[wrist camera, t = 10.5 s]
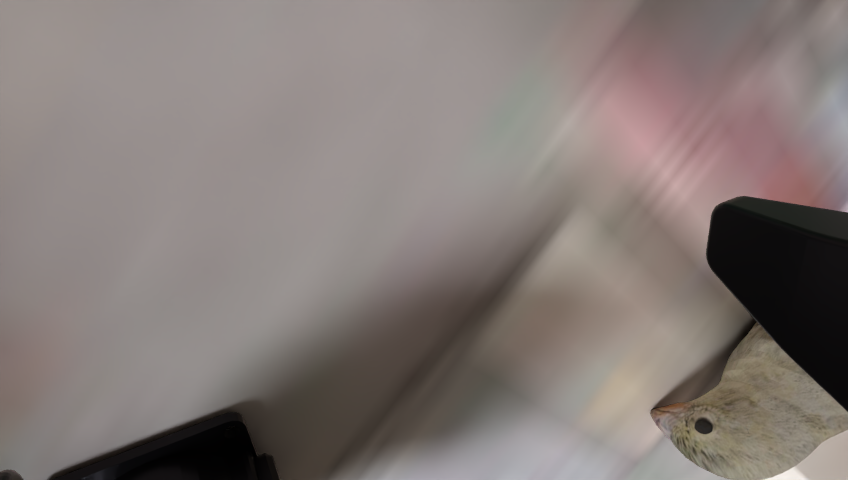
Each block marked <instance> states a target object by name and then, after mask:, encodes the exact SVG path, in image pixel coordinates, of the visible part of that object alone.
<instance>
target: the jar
mask: <svg viewBox="0 0 848 480" xmlns="http://www.w3.org/2000/svg"><path fill="white" fill-rule="evenodd" d="M763 480H848V430H846V431H844V432H842V433H840V434H837V435H835V436H833V437H831V438H829V439H827V440H825V441H824V442H822V443H821V444H820V445H819V446H818V447H817V448H816V449H815V450H814V451H813V452H812V453H811V454H810V455H809V456H808V457H806V458H805V459H804V460H803V461H801V462H800V463H799V464H797V465H796V466H794V467H793V468H791V469H789V470H787V471H785V472H784V473H781V474H779V475H776V476H774V477H771V478H767V479H763Z"/></svg>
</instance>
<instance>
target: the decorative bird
mask: <svg viewBox="0 0 848 480" xmlns="http://www.w3.org/2000/svg"><path fill="white" fill-rule="evenodd" d="M650 414H651V416H652V418H653V420H654V422H655V423H656V425H657V426H658V427H659V429H660V430H661V431H662V432H663V433H664V435H665V436H666V437H667V438H668V439H669V440H670V441H672V442H673V444H674V445H675V446H676V448H677V449H678V450H679V451H680V452H681V453H682V454H683V455H684V456H685V457H686V458H688V459H689V460H690V461H692V462H693V463H695V464H696V465H697V466H699V467H701V468H703V469H705V470H707V471H709V472H711V473H713V474H715V475H717V476H721V477H724V478H727V479H732V480H763V479H767V478H771V477H774V476H776V475H779V474H781V473H784V472H785V471H787V470H789V469H791V468H793V467H794V466H796V465H797V464H799V463H800V462H801V461H803V460H804V459H805V458H806V457H808V456H809V455H810V454H811V453H812V452H813V451H814V450H815V449H816V448H817V447H818V446H819V445H820V444H821V443H822V442H824V441H825V440H827V439H829V438H831V437H833V436H835V435H837V434H840V433H842V432H844V431H846V430H848V412H847V411H846V410H845V409H844V408H843V407H842V406H841V405H839V404H838V403H837V402H836V401H835V400H834V399H833V398H832V397H831V396H830V395H829V394H828V393H827V392H826V391H825V390H824V389H823V388H822V387H820V386H819V385H818V384H817V383H816V382H815V381H814V380H813V379H812V378H811V377H810V376H809V375H808V374H807V373H806V372H805V371H804V370H802V369H801V368H800V367H799V366H798V365H797V364H796V363H795V362H794V361H793V360H792V359H791V358H790V357H789V356H788V355H787V354H786V353H785V352H784V351H783V350H782V349H781V348H780V347H779V346H778V345H777V344H776V343H775V342H774V340H773V339H772V338H771V337H770V336H769V335H768V334H767V333H766V332H765V330H764V329H763V328H762V327H761V326H760V325H759V324H758V322H756V324H755V325H754V326H753V328H752V329H751V330H750V332H749V333H748V334H747V336H746V337H745V338H744V339H743V340H742V341H741V342H740V343H739V344H738V346H737V347H736V348H735V350H734V351H733V352H732V353H731V355H730V357H729V359H728V361H727V364H726V366H725V369H724V371H723V374H722V378H721V381H720V383H719V385H717V386H716V387H715V388H713V389H712V390H711V391H709V392H708V393H706V394H704V395H703V396H701V397H699V398H697V399H695V400H692V401H689V402H684V403H676V404H672V405H668V406H664V407H660V408H655V409H652V410H651V412H650Z"/></svg>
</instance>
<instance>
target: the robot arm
mask: <svg viewBox="0 0 848 480" xmlns="http://www.w3.org/2000/svg"><path fill="white" fill-rule="evenodd" d="M706 258H707V262H708V264H709V266H710V268H711V270H712V271H713V272H714V273H715V275H716V276H717V277H718V278H719V279H720V280H721V281H722V283H723V284H724V285H725V286H726V287H727V288H728V289H729V291H730V292H731V293H732V294H733V295H734V296H735V297H736V298H737V300H738V301H739V302H740V303H741V304H742V305H743V306H744V308H745V309H746V310H747V311H748V312H749V313H750V314H751V316H752V317H753V318H754V319H755V320H756V321H757V322H758V324H759V325H760V326H761V327H762V328H763V329H764V330H765V332H766V333H767V334H768V335H769V336H770V337H771V338H772V339H773V340H774V342H775V343H776V344H777V345H778V346H779V347H780V348H781V349H782V350H783V351H784V352H785V353H786V354H787V355H788V356H789V357H790V358H791V359H792V360H793V361H794V362H795V363H796V364H797V365H798V366H799V367H800V368H801V369H802V370H804V371H805V372H806V373H807V374H808V375H809V376H810V377H811V378H812V379H813V380H814V381H815V382H816V383H817V384H818V385H819V386H820V387H822V388H823V389H824V390H825V391H826V392H827V393H828V394H829V395H830V396H831V397H832V398H833V399H834V400H835V401H836V402H837V403H838V404H839V405H841V406H842V407H843V408H844V409H845V410H846V411H847V412H848V213H847V212H841V211H835V210H828V209H822V208H816V207H810V206H804V205H797V204H791V203H785V202H779V201H773V200H766V199H760V198H754V197H748V196H740V197H736V198H733V199H731V200H728V201H725V202H723V203H720V204H718V205H717V206H716V207H715V208H714V210H713V212H712V215H711V221H710V228H709V235H708V242H707V249H706ZM231 426H235V427H234V428H232V429H229V430H226V429H227V428H228V427H231ZM0 480H23V478H22V477H21V476H20V474H18V473H17V472H16V471H14V470H4V471H1V472H0ZM53 480H281V479H280V476H279V473H278V470H277V468H276V465H275V462H274V459H273V457H272V456H270V455H268V454H266V453H264V454H262V455H259V456H258V454H257V452H256V449H255V446H254V444H253V441H252V439H251V436H250V433H249V431H248V428H247V425H246V423H245V420H244V418H243V416H242V415H241V414H238V413H233V412H230V413H226V414H223V415H221V416H218V417H215V418H213V419H210V420H207V421H205V422H202V423H200V424H197V425H194V426H192V427H189V428H186V429H184V430H181V431H179V432H176V433H173V434H171V435H168V436H166V437H163V438H160V439H158V440H155V441H152V442H150V443H147V444H145V445H142V446H139V447H137V448H134V449H131V450H129V451H126V452H124V453H121V454H118V455H116V456H113V457H111V458H108V459H105V460H103V461H100V462H97V463H95V464H92V465H90V466H87V467H84V468H82V469H79V470H76V471H74V472H71V473H69V474H66V475H63V476H61V477H58V478H56V479H53Z"/></svg>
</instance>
